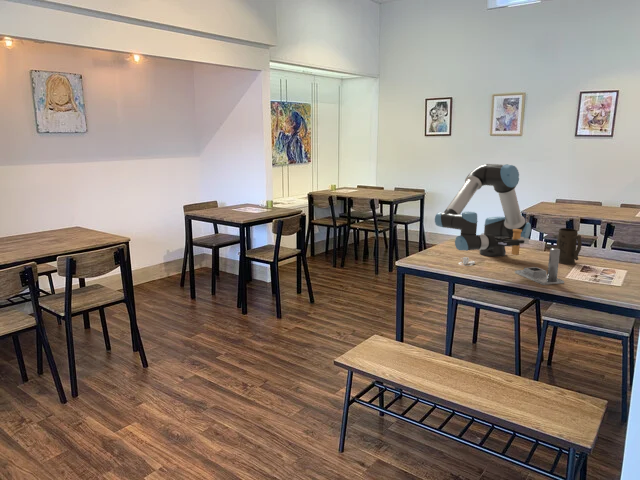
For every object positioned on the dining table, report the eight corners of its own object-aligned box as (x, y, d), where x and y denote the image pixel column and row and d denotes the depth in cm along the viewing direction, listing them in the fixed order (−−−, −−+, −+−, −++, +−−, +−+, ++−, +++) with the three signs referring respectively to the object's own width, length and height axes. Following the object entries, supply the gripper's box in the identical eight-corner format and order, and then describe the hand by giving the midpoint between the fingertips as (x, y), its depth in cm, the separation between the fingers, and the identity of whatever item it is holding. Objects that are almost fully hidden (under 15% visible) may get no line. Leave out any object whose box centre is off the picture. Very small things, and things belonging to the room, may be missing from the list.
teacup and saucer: (475, 264, 267) (476, 257, 266) (472, 267, 260) (473, 260, 259) (460, 262, 271) (460, 255, 270) (456, 265, 264) (457, 258, 264)
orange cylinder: (508, 253, 245) (511, 229, 242) (516, 252, 246) (518, 228, 243) (513, 255, 241) (516, 230, 238) (521, 254, 242) (523, 230, 239)
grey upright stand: (514, 272, 248) (517, 241, 244) (534, 271, 251) (537, 240, 247) (543, 285, 226) (547, 250, 223) (565, 283, 229) (568, 249, 225)
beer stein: (549, 260, 273) (554, 228, 268) (561, 258, 278) (566, 226, 272) (572, 268, 260) (579, 234, 255) (584, 266, 265) (591, 232, 260)
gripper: (476, 245, 247) (515, 243, 252) (493, 253, 231) (535, 250, 236) (477, 231, 245) (516, 230, 250) (495, 238, 230) (537, 236, 234)
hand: (525, 240), depth 243 cm, fingers closed on orange cylinder, 4 cm apart
